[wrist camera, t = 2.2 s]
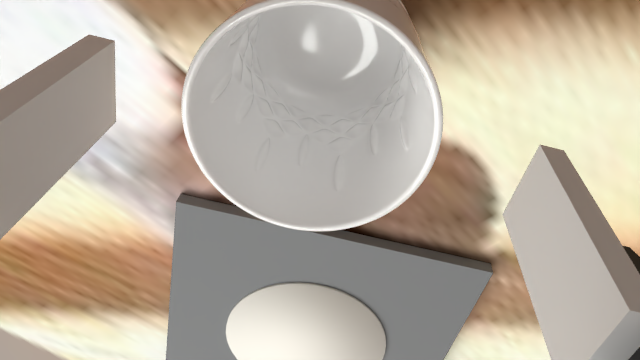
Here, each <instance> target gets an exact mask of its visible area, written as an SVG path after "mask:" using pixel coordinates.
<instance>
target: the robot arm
mask: <svg viewBox="0 0 640 360" xmlns="http://www.w3.org/2000/svg"><path fill="white" fill-rule="evenodd" d="M115 122H116V99H115V41H113V40H109V39H105V38H101V37H97V36H93V35H88V36H86V37H84V38H83V39H81V40H80V41H78V42H76V43H75V44H73V45H72V46H70V47H68V48H67V49H65V50H64V51H62V52H60V53H59V54H57V55H55V56H54V57H52V58H51V59H49V60H47V61H46V62H44V63H43V64H41V65H39V66H38V67H36V68H35V69H33V70H31V71H30V72H28V73H27V74H25V75H23V76H22V77H20V78H19V79H17V80H15V81H14V82H12V83H11V84H9V85H7V86H6V87H4V88H3V89H1V90H0V239H1V238H2V237H3V236H4V235H5V234H6V233H7V232H8V231H9V230H10V229H11V228H12V227H13V226H14V225H15V224H16V223H17V222H18V221H19V220H20V219H21V218H22V217H23V216H24V215H25V214H26V213H27V212H28V211H29V210H30V209H31V208H32V207H33V206H34V205H35V204H36V203H37V202H38V201H39V200H40V199H41V198H42V197H43V196H44V195H45V194H46V192H47V191H48V190H49V189H50V188H51V187H52V186H53V185H54V184H55V183H56V182H57V181H58V180H59V179H60V178H61V177H62V176H63V175H64V174H65V173H66V172H67V171H68V170H69V169H70V168H71V167H72V166H73V165H74V164H75V163H76V162H77V161H78V160H79V159H80V158H81V157H82V156H83V155H84V154H85V153H86V152H87V151H88V150H89V149H90V148H91V147H92V146H93V145H94V144H95V143H96V142H97V141H98V140H99V139H100V138H101V137H102V136H103V135H104V134H105V133H106V132H107V130H108V129H109V128H110V127H111V126H112V125H113V124H114V123H115ZM503 217H504V220H505V223H506V226H507V229H508V232H509V235H510V238H511V241H512V244H513V247H514V250H515V253H516V256H517V259H518V262H519V265H520V268H521V271H522V274H523V277H524V280H525V283H526V286H527V289H528V292H529V295H530V298H531V301H532V304H533V307H534V310H535V313H536V316H537V319H538V322H539V324H540V327H541V330H542V333H543V336H544V339H545V342H546V345H547V348H548V351H549V354H550V357H551V360H640V257H639V256H638V255H637V254H636V253H635V252H634V251H633V250H632V249H631V248H629V247H626V246H622V245H621V243H620V241H619V240H618V238H617V236H616V235H615V233H614V231H613V230H612V228H611V227H610V225H609V223H608V222H607V220H606V218H605V217H604V215H603V214H602V212H601V210H600V209H599V207H598V205H597V204H596V202H595V200H594V199H593V197H592V196H591V194H590V192H589V191H588V189H587V187H586V186H585V184H584V183H583V181H582V179H581V178H580V176H579V174H578V173H577V171H576V169H575V168H574V166H573V165H572V163H571V161H570V160H569V158H568V156H567V155H566V153H565V152H564V150H560V149H555V148H551V147H547V146H543V145H539V147H538V149H537V151H536V153H535V155H534V156H533V158H532V160H531V162H530V164H529V166H528V168H527V170H526V171H525V173H524V175H523V177H522V179H521V181H520V183H519V185H518V186H517V188H516V190H515V192H514V194H513V196H512V198H511V200H510V201H509V203H508V205H507V207H506V209H505V211H504V213H503Z"/></svg>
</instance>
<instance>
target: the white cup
mask: <svg viewBox="0 0 640 360" xmlns="http://www.w3.org/2000/svg"><path fill="white" fill-rule="evenodd" d="M182 121H183V127H184V132H185V136H186V139H187V142H188V145H189V148H190V150H191V152H192V155H193V157H194V159H195V161H196V162H197V164H198V166H199V167H200V169H201V170H202V172H203V173H204V175H205V176H206V177H207V179H208V180H209V181H210V182H211V183H212V185H213V186H214V187H215V188H216V189H217V190H218V191H219V192H220V193H221V194H222V195H224V196H225V197H226V198H227V199H228V200H230V201H231V202H232V203H234V204H235V205H236V206H238V207H239V208H241V209H242V210H244V211H246V212H247V213H249V214H251V215H253V216H255V217H257V218H259V219H262V220H264V221H267V222H269V223H272V224H275V225H278V226H282V227H286V228H291V229H296V230H304V231H335V230H342V229H348V228H352V227H356V226H360V225H363V224H366V223H368V222H371V221H373V220H376V219H378V218H380V217H382V216H384V215H386V214H387V213H389V212H391V211H392V210H394V209H395V208H397V207H398V206H399V205H401V204H402V203H403V202H404V201H406V200H407V199H408V198H409V197H410V196H411V195H412V194H413V193H414V192H415V191H416V190H417V188H418V187H419V186H420V185H421V183H422V182H423V181H424V179H425V178H426V176H427V175H428V173H429V171H430V169H431V168H432V166H433V163H434V161H435V159H436V156H437V153H438V150H439V147H440V143H441V138H442V131H443V108H442V101H441V96H440V92H439V88H438V85H437V82H436V79H435V77H434V74H433V72H432V70H431V67H430V65H429V62H428V59H427V57H426V55H425V52H424V50H423V47H422V44H421V41H420V38H419V35H418V33H417V31H416V29H415V27H414V25H413V23H412V21H411V19H410V17H409V14H408V12H407V10H406V8H405V6H404V5H403V3H402V1H401V0H246V1H245V2H244V3H243V4H242V5H241V6H240V7H239V8H238V9H237V10H236V11H235V12H234V13H233V14H231V15H230V16H229V17H228V18H227V19H226V20H225V21H224V22H223V23H222V24H221V25H220V26H218V27H217V28H216V29H215V30H214V31H213V32H212V33H211V34H210V35H209V37H208V38H207V39H206V40H205V41H204V43H203V44H202V45H201V47H200V48H199V50H198V51H197V53H196V55H195V56H194V58H193V60H192V62H191V65H190V67H189V69H188V72H187V75H186V79H185V82H184V87H183V93H182Z"/></svg>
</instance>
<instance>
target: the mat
mask: <svg viewBox="0 0 640 360" xmlns="http://www.w3.org/2000/svg"><path fill="white" fill-rule="evenodd" d="M492 274H493V271H492V267H491V264H490V263H486V262H481V261H477V260H472V259H468V258H463V257H459V256H454V255H450V254H446V253H441V252H437V251H432V250H428V249H423V248H419V247H414V246H410V245H406V244H401V243H397V242H392V241H388V240H383V239H379V238H374V237H370V236H366V235H361V234H357V233H352V232H348V231H343V230H335V231H304V230H296V229H291V228H286V227H282V226H278V225H275V224H272V223H269V222H267V221H264V220H262V219H259V218H257V217H255V216H253V215H251V214H249V213H247V212H246V211H244V210H242V209H241V208H239V207H237V206H232V205H228V204H223V203H219V202H215V201H210V200H206V199H201V198H197V197H192V196H188V195H183V194H180V196H179V198H178V200H177V201H176V214H175V229H174V244H173V259H172V275H171V290H170V305H169V320H168V336H167V351H166V360H443V359H444V358H445V356H446V354H447V352H448V351H449V349H450V347H451V345H452V344H453V342H454V340H455V338H456V337H457V335H458V333H459V331H460V330H461V328H462V326H463V325H464V323H465V321H466V319H467V318H468V316H469V314H470V312H471V311H472V309H473V307H474V305H475V304H476V302H477V300H478V298H479V297H480V295H481V293H482V291H483V290H484V288H485V286H486V284H487V283H488V281H489V279H490V277H491V276H492Z"/></svg>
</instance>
